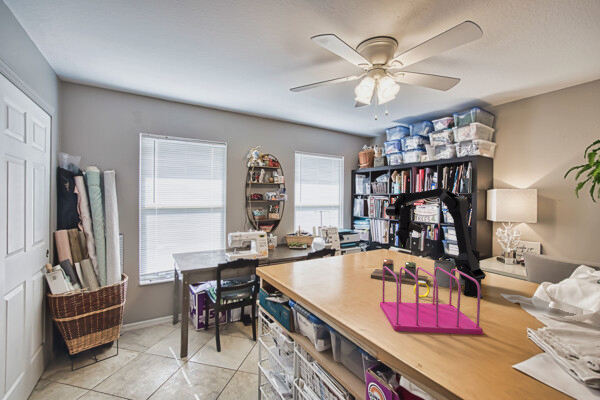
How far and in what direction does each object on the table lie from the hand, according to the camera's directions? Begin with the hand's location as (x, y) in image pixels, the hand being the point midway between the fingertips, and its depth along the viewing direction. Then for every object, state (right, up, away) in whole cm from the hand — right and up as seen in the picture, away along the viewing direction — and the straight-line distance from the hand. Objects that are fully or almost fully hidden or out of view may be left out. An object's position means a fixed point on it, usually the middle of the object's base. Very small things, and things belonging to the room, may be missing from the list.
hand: (404, 248), depth 134 cm
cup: (+12, -14, -15) cm, 24 cm away
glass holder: (+22, -14, -16) cm, 31 cm away
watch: (-5, -14, -30) cm, 33 cm away
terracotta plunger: (-10, -11, -6) cm, 16 cm away
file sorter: (-13, -14, -49) cm, 53 cm away
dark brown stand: (-6, -13, -8) cm, 16 cm away
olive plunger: (-1, -11, -10) cm, 16 cm away
